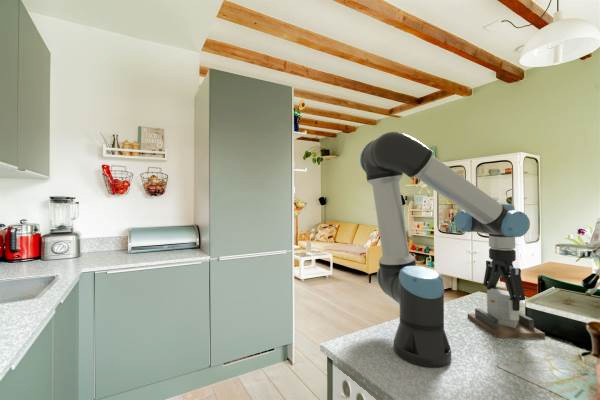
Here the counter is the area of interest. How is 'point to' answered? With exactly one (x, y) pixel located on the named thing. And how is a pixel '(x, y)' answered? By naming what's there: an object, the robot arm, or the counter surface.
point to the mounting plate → (500, 331)
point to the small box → (500, 307)
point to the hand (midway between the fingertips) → (502, 313)
